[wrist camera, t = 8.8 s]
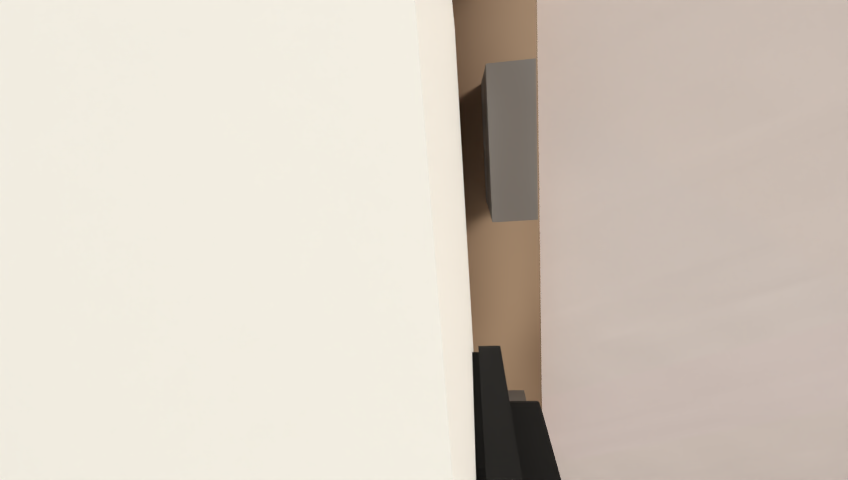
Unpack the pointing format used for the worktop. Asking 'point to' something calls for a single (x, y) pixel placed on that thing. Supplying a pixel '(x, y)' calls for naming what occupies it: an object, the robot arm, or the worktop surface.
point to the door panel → (233, 242)
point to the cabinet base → (502, 181)
